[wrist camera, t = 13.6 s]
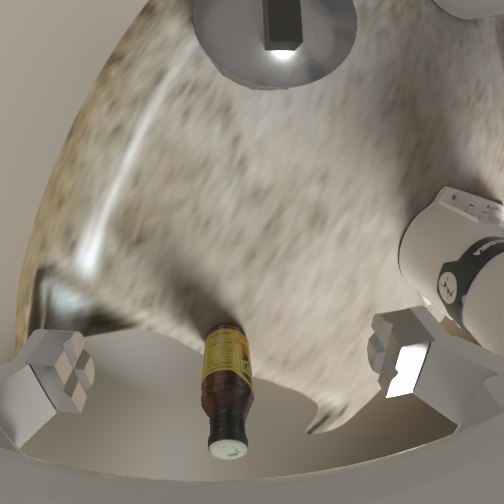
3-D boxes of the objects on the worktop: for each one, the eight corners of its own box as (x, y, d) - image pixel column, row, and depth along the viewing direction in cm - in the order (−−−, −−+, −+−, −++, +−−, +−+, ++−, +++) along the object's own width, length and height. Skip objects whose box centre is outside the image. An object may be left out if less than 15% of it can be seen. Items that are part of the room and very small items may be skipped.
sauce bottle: (245, 355, 48) (254, 467, 30) (204, 352, 47) (197, 465, 29) (250, 321, 45) (264, 437, 27) (206, 317, 45) (197, 434, 26)
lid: (342, -36, 22) (361, -57, 17) (353, 91, 28) (377, 88, 23) (193, -39, 21) (187, -65, 16) (197, 93, 27) (190, 87, 22)
